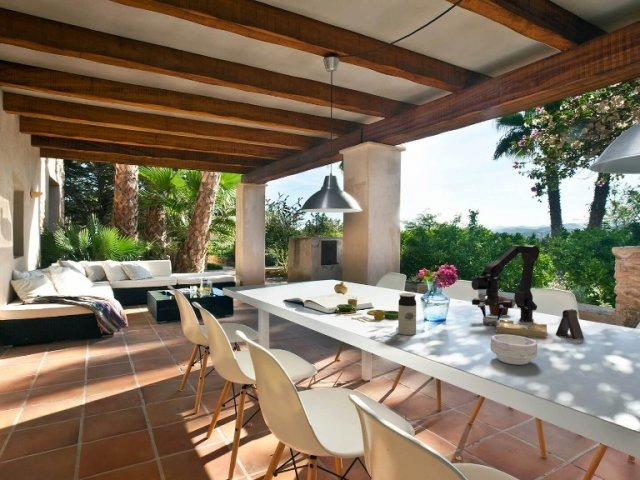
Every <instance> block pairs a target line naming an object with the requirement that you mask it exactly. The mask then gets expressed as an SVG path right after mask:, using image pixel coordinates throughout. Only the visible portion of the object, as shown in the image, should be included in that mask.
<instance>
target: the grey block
mask: <svg viewBox="0 0 640 480" xmlns="http://www.w3.org/2000/svg"><path fill="white" fill-rule="evenodd" d="M498 323H499V321H498V316H496V315H486V316H483V318H482V325H484V326H485V325H487V326H495V327H496V326H497V325H498Z"/></svg>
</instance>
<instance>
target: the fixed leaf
mask: <svg viewBox="0 0 640 480" xmlns="http://www.w3.org/2000/svg"><path fill="white" fill-rule="evenodd" d="M547 325H548V324H546V323H536V322H531V325H527V324H526V325H525V324H524V325H523V324H517V323H516V324H515V323H514V320H507V319H499V323H498V324H497V326H495V328H496V330H495V333H496V334H500V335H515V336H521V337H526V338H536V339H546V338H547V332H548V328H547V327H548V326H547Z"/></svg>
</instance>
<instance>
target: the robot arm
mask: <svg viewBox="0 0 640 480" xmlns="http://www.w3.org/2000/svg"><path fill="white" fill-rule="evenodd" d="M540 251H541V249H540V248H539V247H538V246H536V245H520V244H513V245H511V246H510V248H509V249H508V250H507V251H505V252H504V253H503V254H501V256H500V257H499V258H498V259H496V260H495V261H492V262H489V263H488V264H486V265H485V266H484V269H483V271H482V272H481V274H480V275H479V276H474V277H473V279H472V281H471V284H470V285H471V288H472V289H473V290H474V291H483V290H484V291H485V295H484V299H483V300H482V298H477V297H475V298H473V299H472V300H471V305H472V306H477V308H479V309H480V311H481V312H482V316H483V317H484V316H487V314H486V313H487V312H486V307H487V306H488V307H489V306H495V305H500V307H499V313H498V315H497V317H498V321H499V320H501V319H500V318H501V317H502V316H501V313H502V311H503V309H506V308H508V309H512V308H513V301H512V300H508V301H503V302H500V297H499V296H500V295H499V282H500V281H503V279H502V278H501V277H500V275H501V274H502V272H504V268H505V267H506V266H507V265H508V264H509V263H511V261H512V260H513V259H515V258H516V257H517V256H518V255H520V254H521V258H522V261H523V265H522V271H521V273H522V274H521V279H520V285H519V286H520V287H519V289H518V290H515V291H514V296H513V299H514V303H515V304H516V308H517V309H520V318H519V319H518V321H519V322H528V323H530V322H531V323H534V321H535V319H534V318H533V315H534V314H533V313H534V311H537V309H538V306H537V304H536V303H535V302H534V300H533V297H534V296H533V293H532V291H531V288H532V282H533V275H534V274H533V273H534V266H535V263H536V262H537V260H538V259H539V257H540V253H541V252H540Z"/></svg>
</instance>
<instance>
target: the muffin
mask: <svg viewBox="0 0 640 480" xmlns="http://www.w3.org/2000/svg"><path fill="white" fill-rule="evenodd" d="M498 296H499V297H500V302H503V301H509V300H508V298H506V297H504V296H503V295H502V296H501V295H498ZM499 307H500V305H495V306H489V305H488V308H489V314H490V313H491V315H492V314H493V315H492V316H498V313H499ZM508 313H509V308H506V309H503V311H502V313H501V316H500V317H503V316H502V315H506V316H507V315H508Z"/></svg>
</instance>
